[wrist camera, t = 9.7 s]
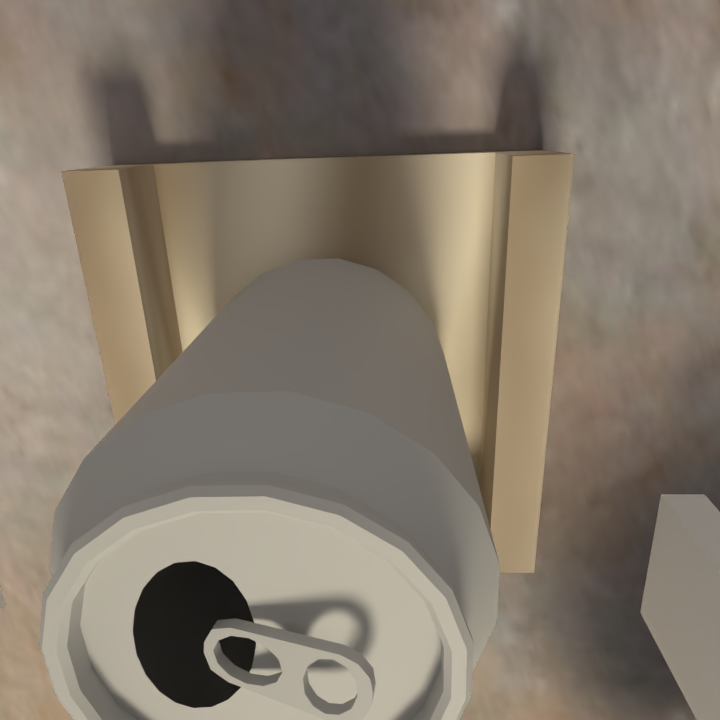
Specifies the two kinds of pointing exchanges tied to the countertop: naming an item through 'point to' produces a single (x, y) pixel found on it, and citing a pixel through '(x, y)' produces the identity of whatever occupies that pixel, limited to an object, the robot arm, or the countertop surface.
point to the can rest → (361, 246)
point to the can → (279, 522)
